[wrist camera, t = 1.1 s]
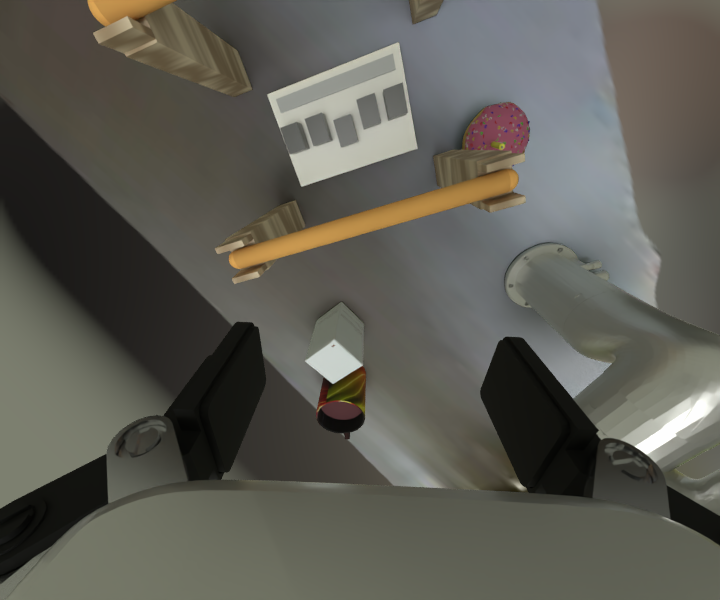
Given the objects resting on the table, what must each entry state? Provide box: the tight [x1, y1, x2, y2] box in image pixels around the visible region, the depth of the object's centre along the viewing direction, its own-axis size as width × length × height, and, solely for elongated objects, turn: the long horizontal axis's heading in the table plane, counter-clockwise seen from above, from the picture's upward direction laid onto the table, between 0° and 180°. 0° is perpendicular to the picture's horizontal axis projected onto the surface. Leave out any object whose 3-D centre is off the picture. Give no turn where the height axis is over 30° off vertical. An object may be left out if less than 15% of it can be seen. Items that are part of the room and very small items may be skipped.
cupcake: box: [462, 102, 530, 166], centre depth 36 cm, size 9×8×12 cm
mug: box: [316, 366, 366, 439], centre depth 60 cm, size 10×14×12 cm
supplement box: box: [305, 302, 364, 384], centre depth 52 cm, size 7×7×13 cm
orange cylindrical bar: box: [229, 169, 519, 269], centre depth 27 cm, size 29×2×2 cm, turn 107°
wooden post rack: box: [93, 0, 526, 284], centre depth 31 cm, size 29×24×22 cm
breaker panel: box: [267, 42, 418, 187], centre depth 38 cm, size 18×12×6 cm, turn 107°
